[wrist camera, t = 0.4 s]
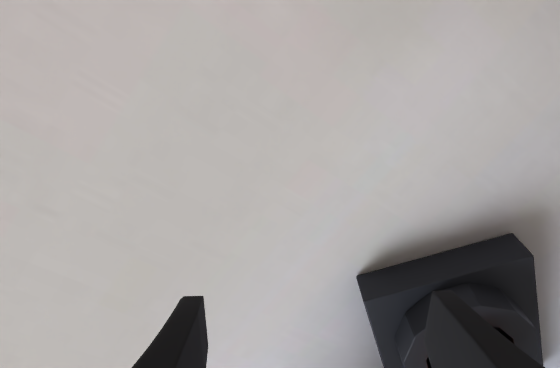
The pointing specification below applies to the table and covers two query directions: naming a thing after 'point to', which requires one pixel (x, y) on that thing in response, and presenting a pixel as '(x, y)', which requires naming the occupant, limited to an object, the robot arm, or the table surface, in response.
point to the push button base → (464, 283)
